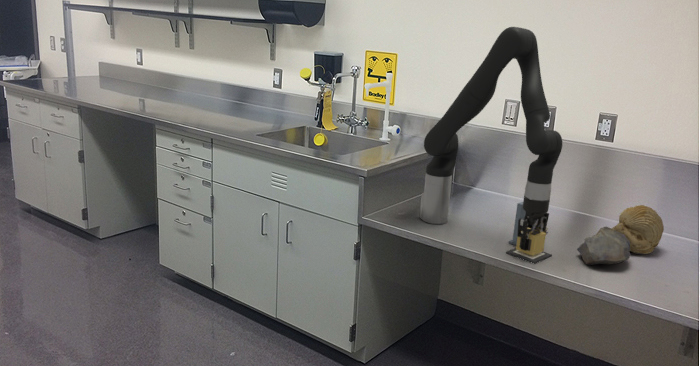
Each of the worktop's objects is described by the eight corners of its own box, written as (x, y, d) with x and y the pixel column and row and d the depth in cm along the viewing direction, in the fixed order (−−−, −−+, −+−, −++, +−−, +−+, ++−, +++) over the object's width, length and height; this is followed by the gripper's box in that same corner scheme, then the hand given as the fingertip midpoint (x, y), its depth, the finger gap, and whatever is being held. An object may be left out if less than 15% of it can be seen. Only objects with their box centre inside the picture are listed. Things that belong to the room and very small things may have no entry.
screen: (508, 243, 190) (514, 202, 187) (528, 235, 198) (534, 196, 195) (519, 246, 188) (525, 205, 184) (539, 239, 195) (544, 199, 192)
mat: (505, 253, 182) (506, 251, 182) (523, 246, 188) (523, 244, 188) (534, 263, 175) (534, 261, 174) (551, 256, 181) (551, 254, 181)
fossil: (594, 242, 195) (602, 199, 191) (633, 237, 202) (641, 196, 198) (630, 259, 182) (639, 214, 178) (670, 254, 188) (680, 210, 184)
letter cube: (515, 249, 181) (518, 230, 179) (526, 245, 185) (528, 227, 184) (532, 255, 177) (535, 236, 175) (543, 251, 181) (546, 232, 179)
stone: (588, 214, 187) (639, 224, 179) (584, 243, 191) (634, 255, 183) (572, 236, 173) (627, 249, 165) (568, 267, 177) (621, 280, 169)
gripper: (538, 189, 184) (531, 238, 188) (513, 196, 174) (506, 248, 179) (560, 195, 178) (552, 246, 183) (535, 202, 169) (527, 256, 173)
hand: (529, 247), depth 181 cm, fingers closed on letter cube, 6 cm apart
